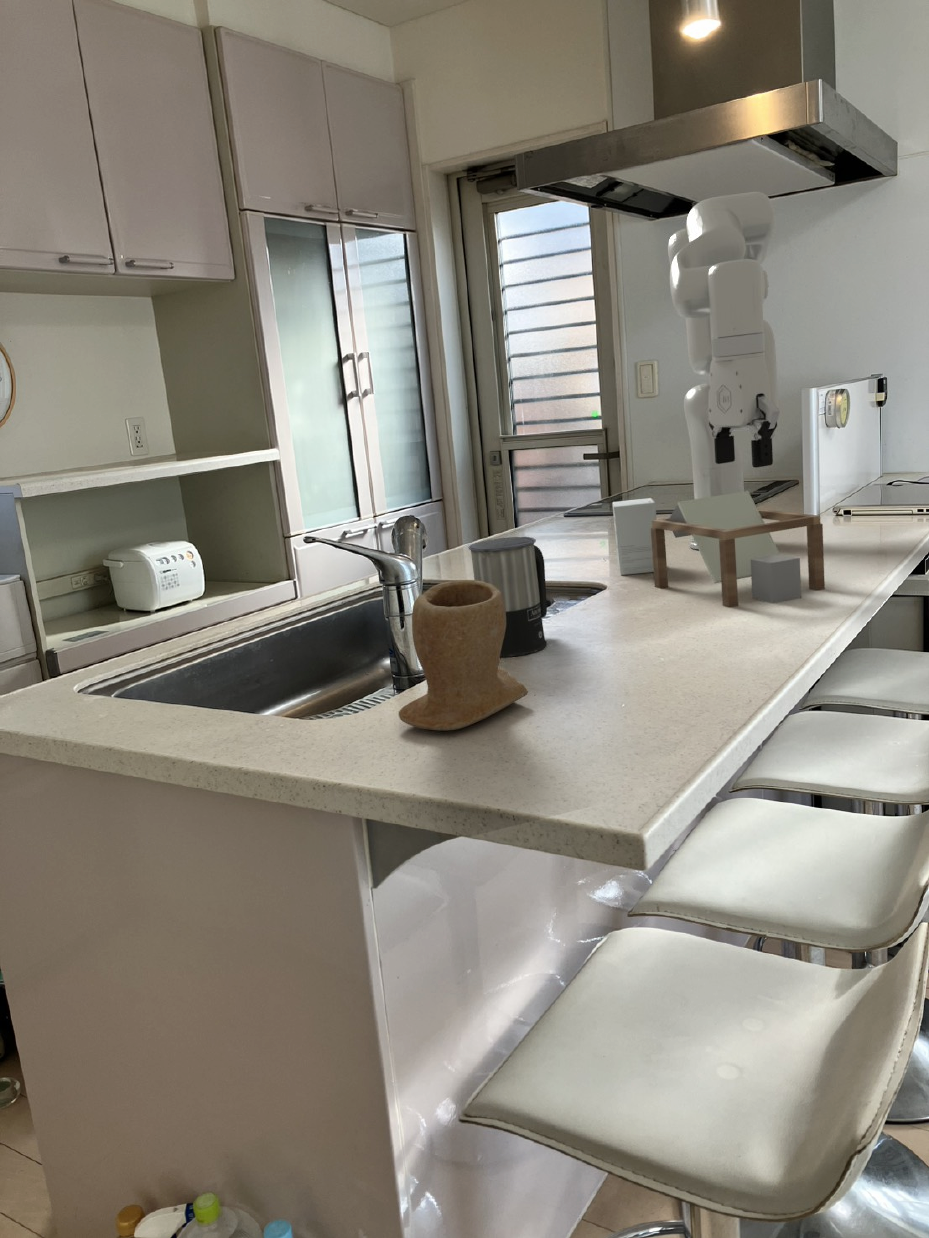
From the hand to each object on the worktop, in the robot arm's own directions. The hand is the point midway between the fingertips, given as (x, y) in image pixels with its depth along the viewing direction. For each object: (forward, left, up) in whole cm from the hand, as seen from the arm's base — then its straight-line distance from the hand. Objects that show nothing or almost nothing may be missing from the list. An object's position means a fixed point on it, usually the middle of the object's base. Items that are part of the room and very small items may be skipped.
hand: (743, 464), depth 154 cm
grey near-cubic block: (+7, 0, -14) cm, 16 cm away
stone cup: (+32, -57, -20) cm, 69 cm away
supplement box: (-30, -3, -20) cm, 36 cm away
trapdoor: (-8, 0, -14) cm, 16 cm away
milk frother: (+4, -44, -20) cm, 49 cm away
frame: (-3, 0, -20) cm, 20 cm away
